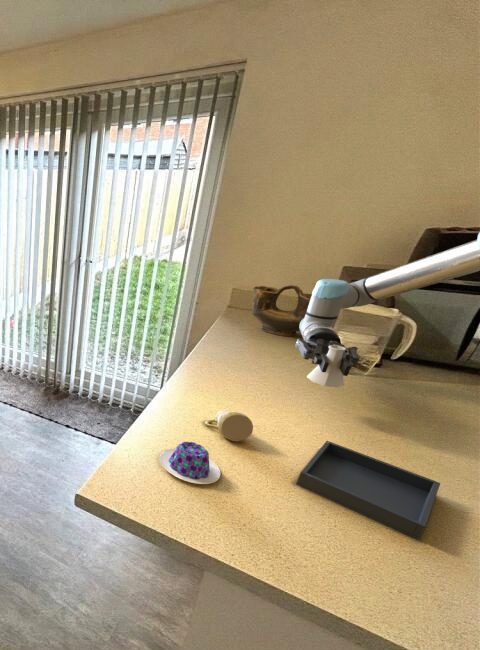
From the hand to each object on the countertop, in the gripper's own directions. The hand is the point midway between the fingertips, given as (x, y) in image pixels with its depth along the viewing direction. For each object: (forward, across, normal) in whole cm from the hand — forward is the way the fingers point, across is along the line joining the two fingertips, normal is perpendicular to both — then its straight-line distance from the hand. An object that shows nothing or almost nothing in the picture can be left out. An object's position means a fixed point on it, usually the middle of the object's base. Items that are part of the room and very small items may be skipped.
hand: (336, 369), depth 98 cm
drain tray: (+28, -4, -15) cm, 32 cm away
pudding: (+39, +27, -15) cm, 49 cm away
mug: (+19, +20, -15) cm, 31 cm away
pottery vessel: (-74, +4, -15) cm, 75 cm away
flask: (-5, 0, -6) cm, 8 cm away
